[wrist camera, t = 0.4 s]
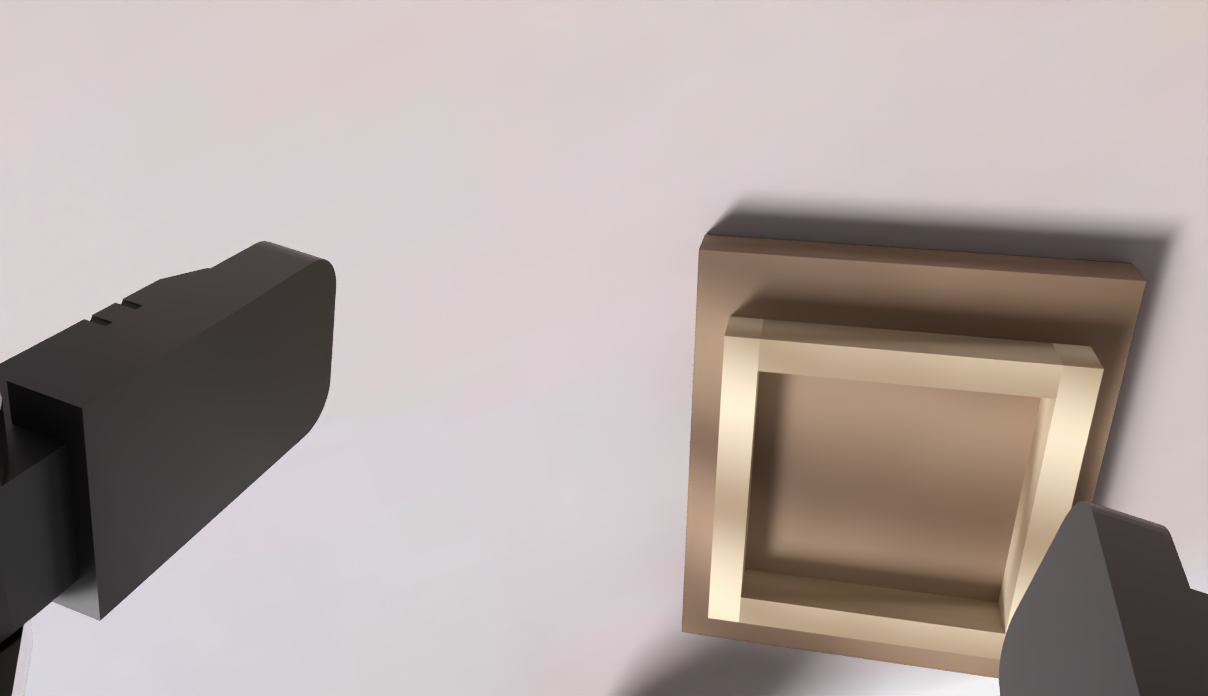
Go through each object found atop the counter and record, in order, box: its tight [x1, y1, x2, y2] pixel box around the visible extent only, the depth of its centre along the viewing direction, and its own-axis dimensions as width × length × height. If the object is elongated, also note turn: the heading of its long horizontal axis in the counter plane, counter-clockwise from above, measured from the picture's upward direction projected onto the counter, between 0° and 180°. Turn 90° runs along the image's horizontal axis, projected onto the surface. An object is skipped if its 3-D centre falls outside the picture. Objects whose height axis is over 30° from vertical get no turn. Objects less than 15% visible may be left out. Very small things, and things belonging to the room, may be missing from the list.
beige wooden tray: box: [682, 235, 1146, 678], centre depth 30 cm, size 14×12×3 cm
